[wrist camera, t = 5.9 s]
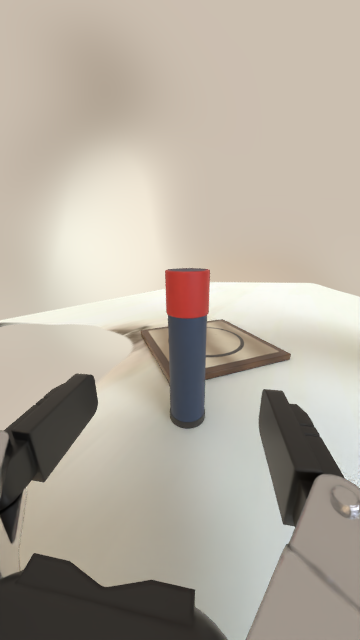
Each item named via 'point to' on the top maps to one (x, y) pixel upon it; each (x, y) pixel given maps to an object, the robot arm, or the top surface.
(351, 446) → the top surface
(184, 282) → the marker
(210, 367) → the sketch board
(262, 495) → the top surface
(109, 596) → the robot arm
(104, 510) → the top surface
